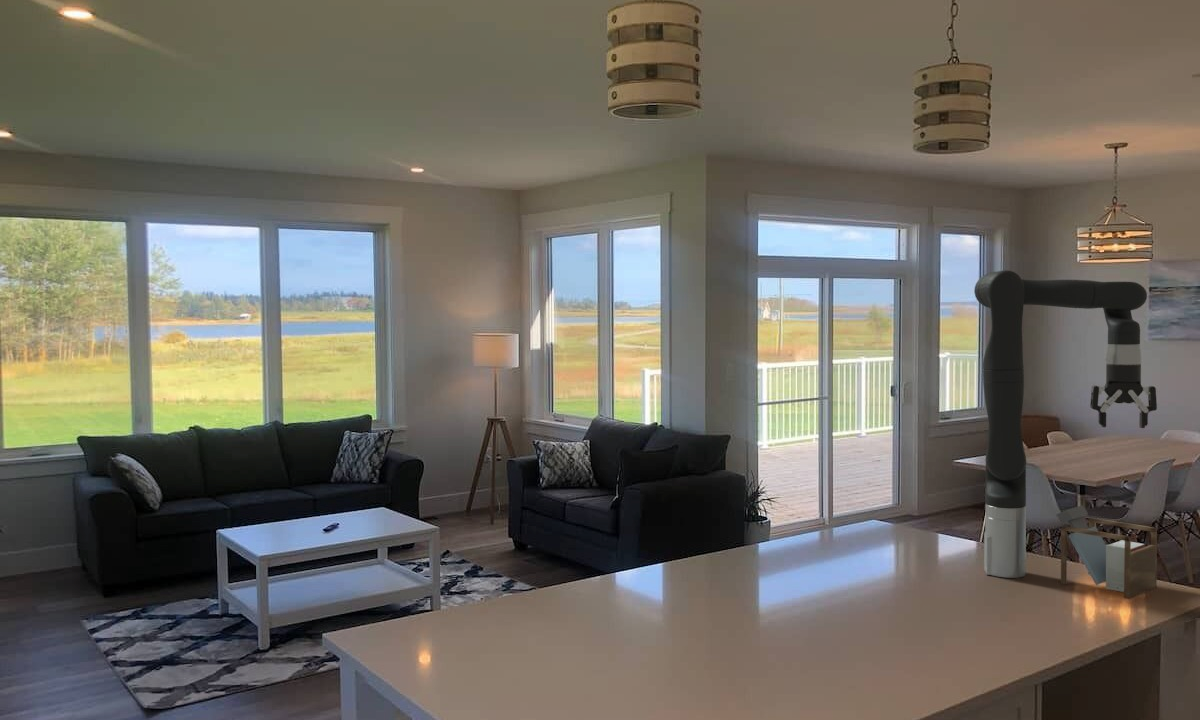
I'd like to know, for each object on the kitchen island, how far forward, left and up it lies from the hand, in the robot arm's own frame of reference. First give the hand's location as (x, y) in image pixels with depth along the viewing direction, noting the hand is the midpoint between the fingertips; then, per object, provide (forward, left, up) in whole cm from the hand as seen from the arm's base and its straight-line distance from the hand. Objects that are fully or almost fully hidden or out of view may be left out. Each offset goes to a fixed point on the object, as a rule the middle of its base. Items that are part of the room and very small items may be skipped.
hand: (1122, 427), depth 229 cm
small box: (-3, -17, -36) cm, 40 cm away
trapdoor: (-11, -12, -28) cm, 32 cm away
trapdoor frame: (-6, -15, -36) cm, 40 cm away
